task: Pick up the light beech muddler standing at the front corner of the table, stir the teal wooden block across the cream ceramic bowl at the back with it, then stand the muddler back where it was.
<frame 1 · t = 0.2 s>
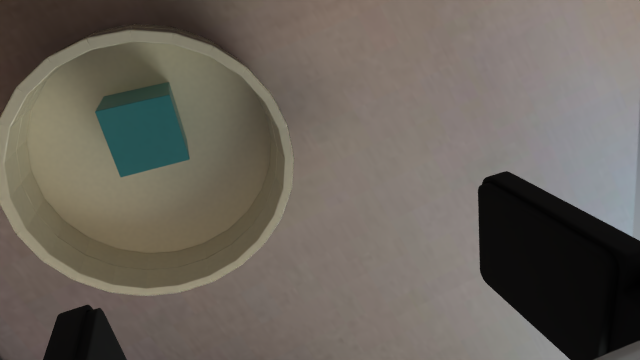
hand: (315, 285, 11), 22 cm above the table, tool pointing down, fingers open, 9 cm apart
block: (147, 119, 29), point 1 cm above the table, touching bowl
bowl: (158, 150, 31), on the table
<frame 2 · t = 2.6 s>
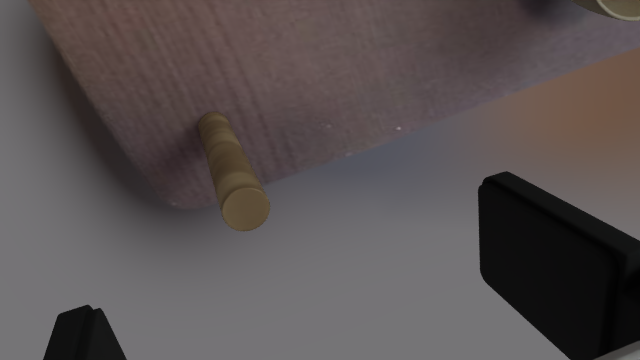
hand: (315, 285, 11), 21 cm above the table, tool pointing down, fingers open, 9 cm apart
muddler: (214, 126, 30), on the table
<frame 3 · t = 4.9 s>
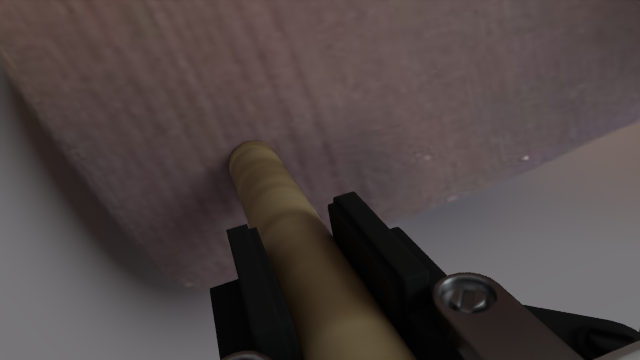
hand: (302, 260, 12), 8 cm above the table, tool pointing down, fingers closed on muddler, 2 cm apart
muddler: (253, 163, 19), on the table, touching gripper
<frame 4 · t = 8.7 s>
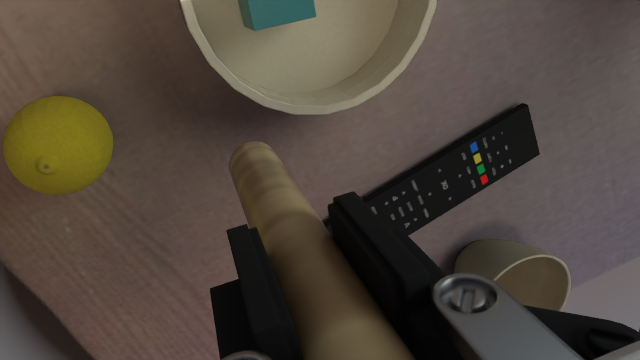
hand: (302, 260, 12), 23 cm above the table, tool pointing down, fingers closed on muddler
muddler: (253, 164, 19), point 16 cm above the table, touching gripper
flower pot: (474, 260, 47), on the table
remote control: (412, 192, 41), on the table
lemon: (74, 125, 31), on the table
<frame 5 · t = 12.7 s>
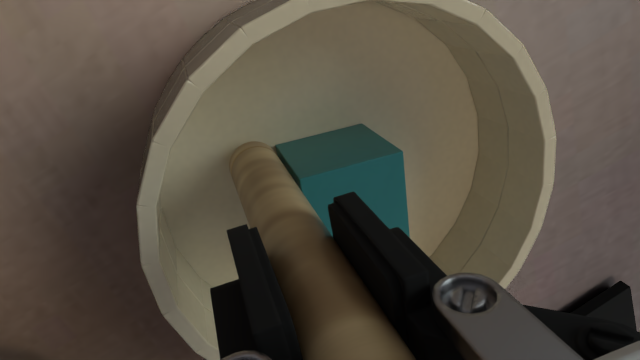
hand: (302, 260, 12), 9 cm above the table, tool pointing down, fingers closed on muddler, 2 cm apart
block: (325, 175, 21), point 1 cm above the table, touching bowl
muddler: (253, 164, 19), point 1 cm above the table, touching gripper
bowl: (330, 172, 21), on the table
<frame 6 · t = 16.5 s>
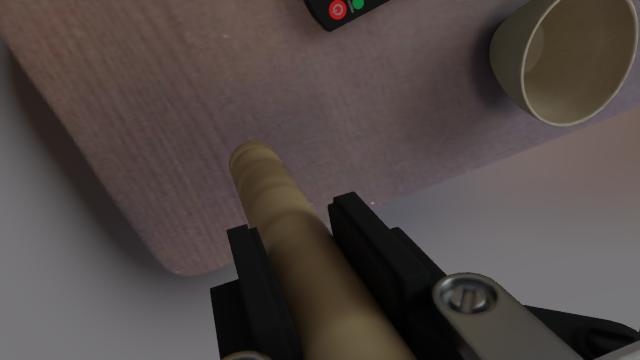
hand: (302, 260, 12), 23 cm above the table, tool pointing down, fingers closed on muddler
muddler: (253, 163, 19), point 16 cm above the table, touching gripper
flower pot: (512, 47, 39), on the table
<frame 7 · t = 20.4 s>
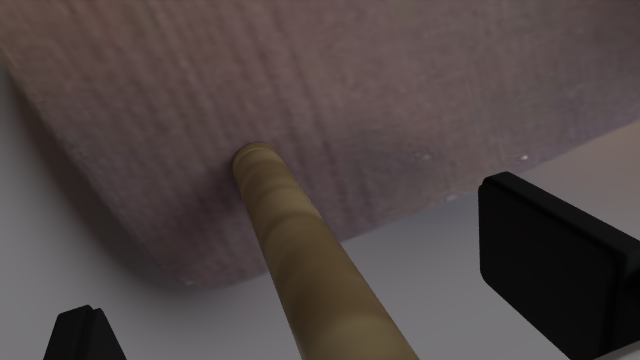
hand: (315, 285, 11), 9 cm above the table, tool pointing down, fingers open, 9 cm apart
muddler: (256, 165, 19), on the table
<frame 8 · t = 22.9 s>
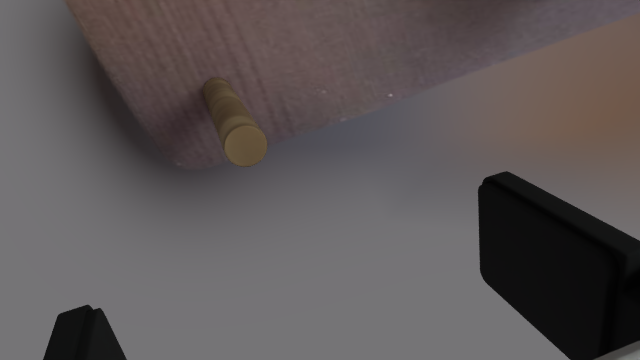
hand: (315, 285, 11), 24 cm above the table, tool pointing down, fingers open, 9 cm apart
muddler: (217, 91, 32), on the table
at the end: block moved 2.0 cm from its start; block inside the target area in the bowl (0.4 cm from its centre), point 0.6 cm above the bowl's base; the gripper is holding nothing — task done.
